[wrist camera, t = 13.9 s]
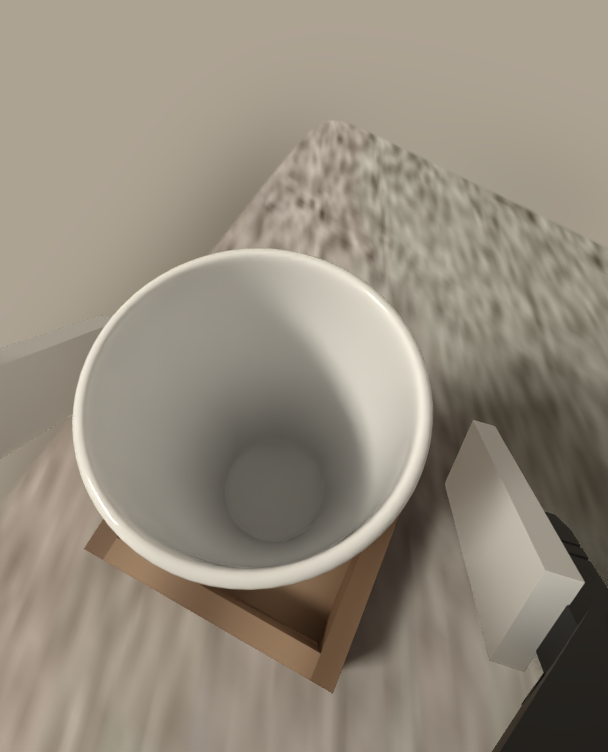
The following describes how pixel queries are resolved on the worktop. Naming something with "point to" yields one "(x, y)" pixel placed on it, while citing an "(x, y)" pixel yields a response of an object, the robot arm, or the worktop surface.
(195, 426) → the white tumbler cup
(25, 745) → the worktop surface
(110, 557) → the walnut tray
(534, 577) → the robot arm
